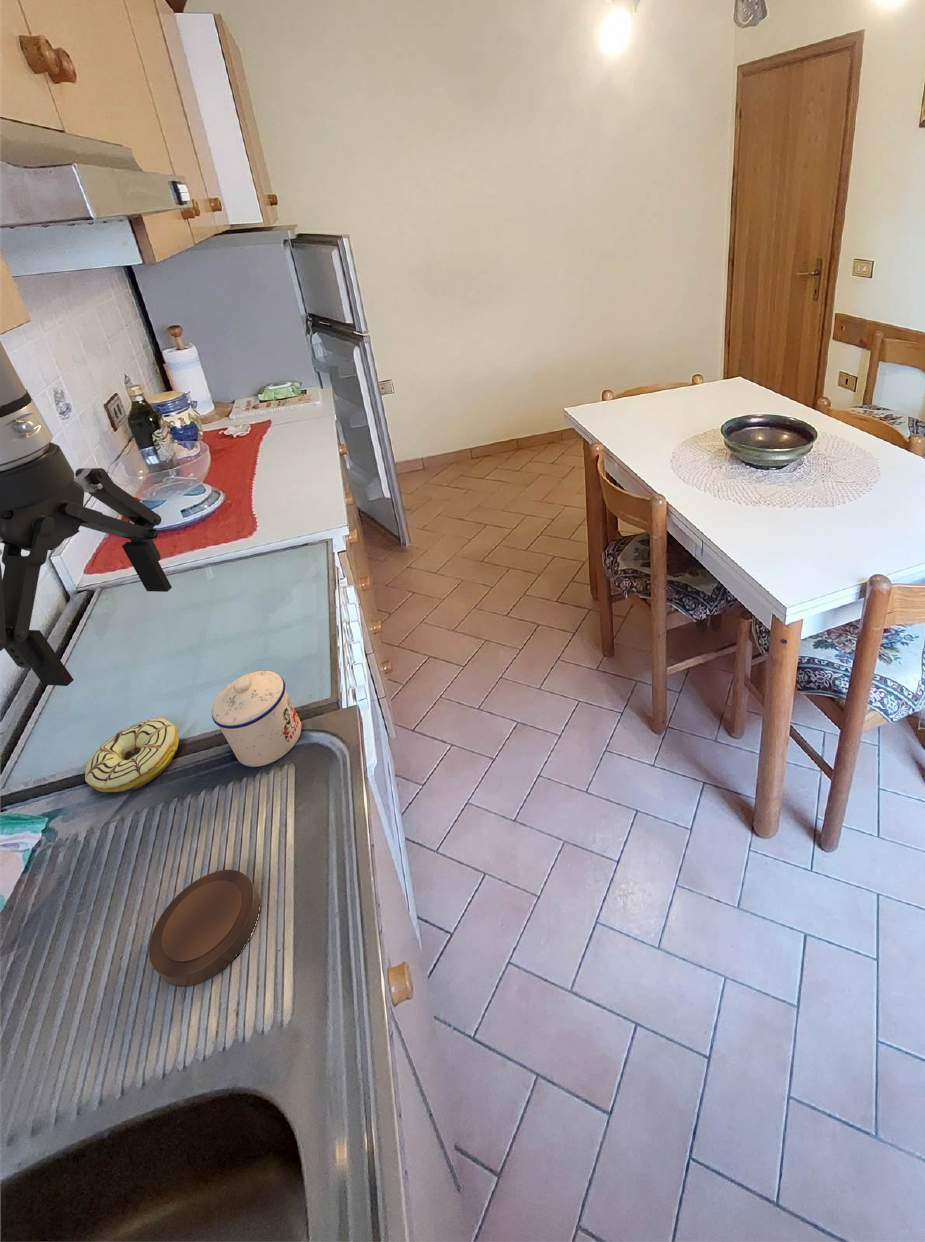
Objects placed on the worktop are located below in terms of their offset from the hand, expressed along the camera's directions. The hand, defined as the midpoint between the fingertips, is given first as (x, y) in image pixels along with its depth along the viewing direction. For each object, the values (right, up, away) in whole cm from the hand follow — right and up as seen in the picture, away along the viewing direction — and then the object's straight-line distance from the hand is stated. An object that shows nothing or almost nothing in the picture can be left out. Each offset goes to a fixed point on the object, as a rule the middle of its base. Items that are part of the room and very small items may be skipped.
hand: (113, 632), depth 66 cm
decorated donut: (-11, -24, +20) cm, 33 cm away
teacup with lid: (+5, -21, +23) cm, 31 cm away
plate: (+10, -32, +1) cm, 34 cm away
